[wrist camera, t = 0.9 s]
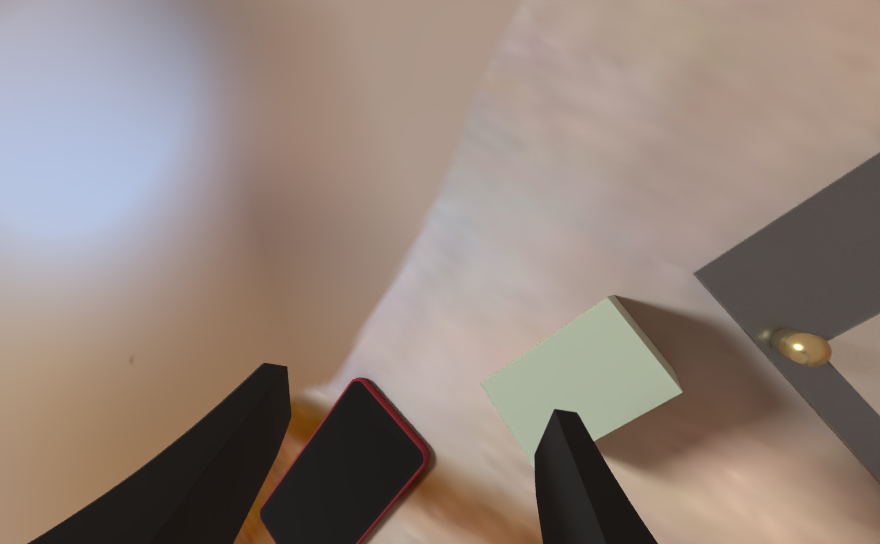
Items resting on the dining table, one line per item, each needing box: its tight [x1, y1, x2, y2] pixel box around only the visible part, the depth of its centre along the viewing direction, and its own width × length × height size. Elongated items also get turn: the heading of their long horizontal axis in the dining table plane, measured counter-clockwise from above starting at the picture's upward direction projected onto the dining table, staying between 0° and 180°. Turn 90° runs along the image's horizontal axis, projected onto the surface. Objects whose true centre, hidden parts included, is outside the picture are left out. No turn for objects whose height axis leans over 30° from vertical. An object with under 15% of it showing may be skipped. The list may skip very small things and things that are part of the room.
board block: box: [480, 295, 683, 469], centre depth 20 cm, size 4×7×5 cm, turn 125°
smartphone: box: [260, 378, 429, 544], centre depth 29 cm, size 7×1×15 cm
